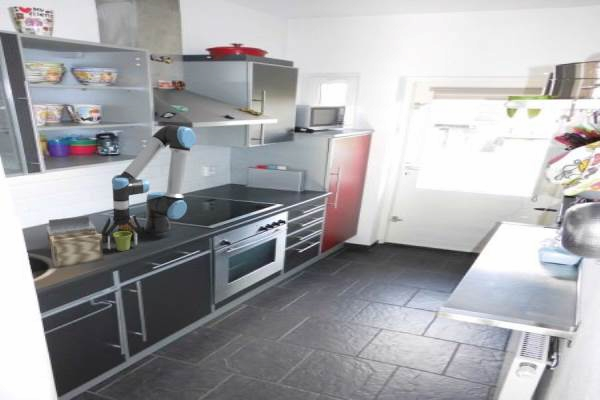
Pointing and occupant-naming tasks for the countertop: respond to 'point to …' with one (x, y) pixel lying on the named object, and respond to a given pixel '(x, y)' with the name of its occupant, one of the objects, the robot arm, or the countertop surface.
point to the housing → (75, 248)
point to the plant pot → (122, 240)
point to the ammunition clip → (127, 229)
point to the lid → (69, 225)
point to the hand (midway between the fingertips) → (122, 246)
